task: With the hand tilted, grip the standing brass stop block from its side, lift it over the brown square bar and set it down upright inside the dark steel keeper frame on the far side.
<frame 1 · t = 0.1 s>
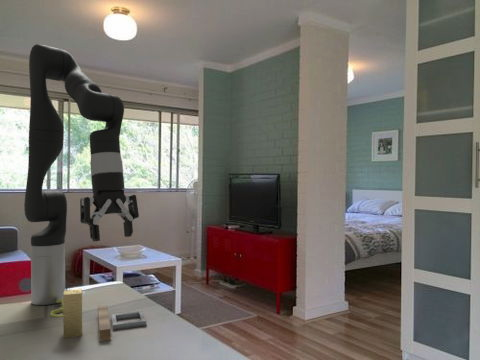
hand: (112, 238, 98), 22 cm above the table, tool pointing down, fingers open, 8 cm apart
brown square bar: (103, 326, 101), on the table
key: (64, 312, 113), on the table
keeper: (128, 322, 104), on the table
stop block: (73, 333, 96), on the table
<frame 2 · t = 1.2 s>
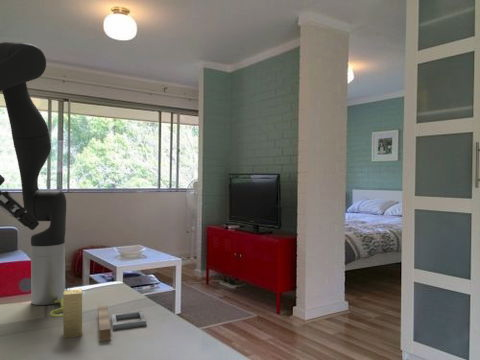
hand: (32, 225, 95), 26 cm above the table, tool tilted 45°, fingers open, 8 cm apart
nothing on the table moved.
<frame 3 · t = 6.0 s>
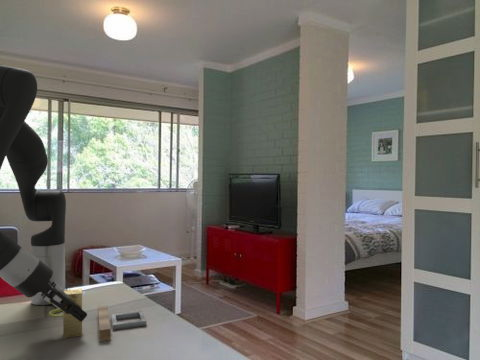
hand: (81, 314, 97), 4 cm above the table, tool tilted 45°, fingers closed on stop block, 5 cm apart
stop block: (73, 333, 96), on the table, touching gripper
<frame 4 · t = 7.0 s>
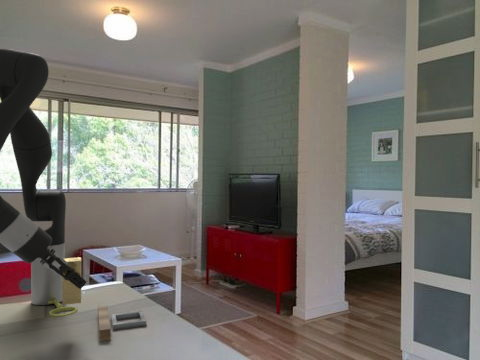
hand: (80, 282, 97), 12 cm above the table, tool tilted 45°, fingers closed on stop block, 5 cm apart
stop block: (72, 301, 96), point 8 cm above the table, touching gripper
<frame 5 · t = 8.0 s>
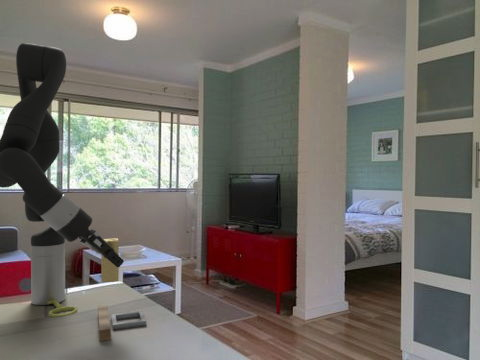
hand: (117, 262, 102), 16 cm above the table, tool tilted 45°, fingers closed on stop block, 5 cm apart
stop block: (109, 279, 101), point 12 cm above the table, touching gripper
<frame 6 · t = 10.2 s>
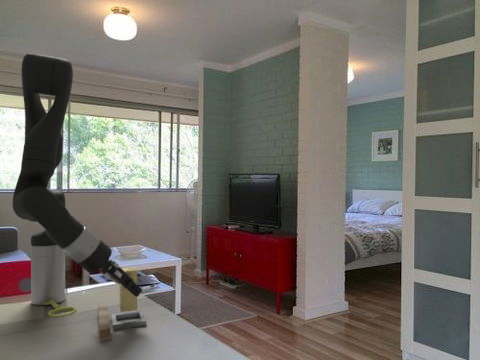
hand: (135, 291, 104), 8 cm above the table, tool tilted 45°, fingers closed on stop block, 5 cm apart
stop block: (128, 308, 103), point 4 cm above the table, touching gripper
when the fingers open (6 cm above the table, at t = 11.3 s): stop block drops 1 cm, resting in keeper.
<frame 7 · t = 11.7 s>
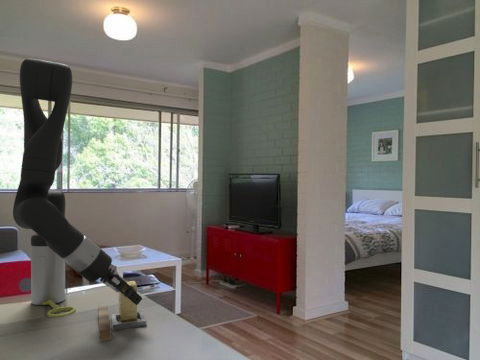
hand: (133, 297, 104), 6 cm above the table, tool tilted 45°, fingers open, 8 cm apart
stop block: (127, 322, 103), resting in keeper
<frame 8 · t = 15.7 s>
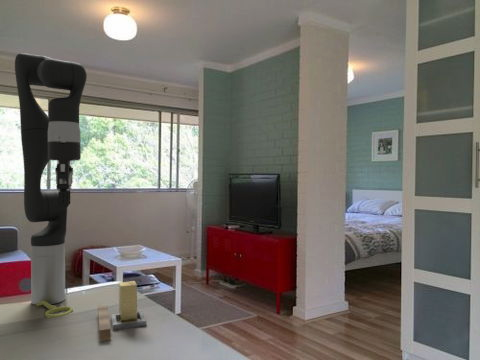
hand: (64, 206, 101), 30 cm above the table, tool pointing down, fingers open, 8 cm apart
at the end: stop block 0.1 cm off-centre on the keeper, point 0.0 cm above the keeper's base; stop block tilted 0°; the gripper is holding nothing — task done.
